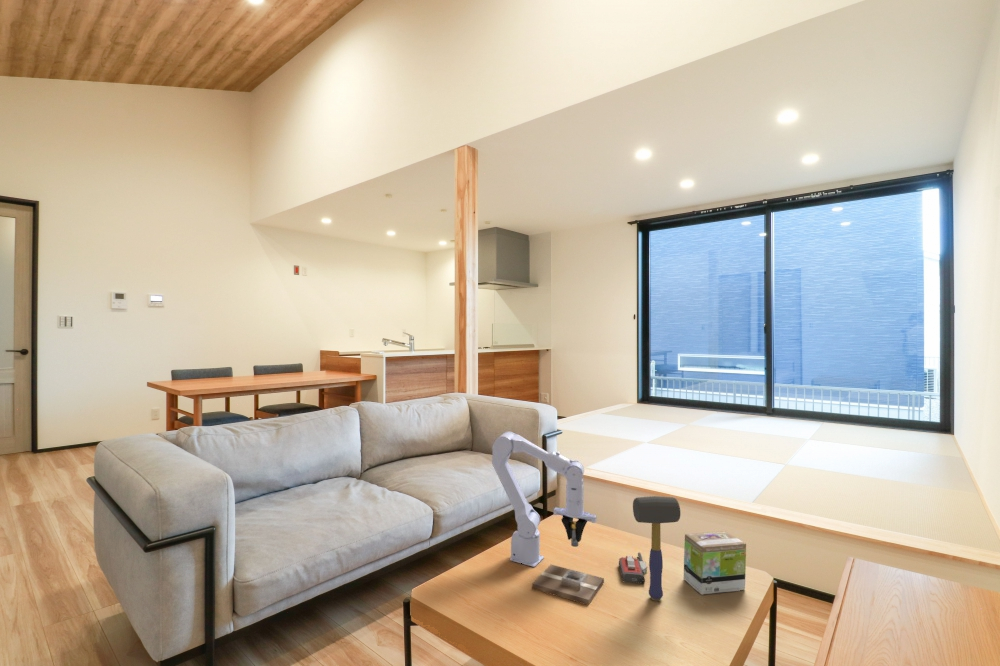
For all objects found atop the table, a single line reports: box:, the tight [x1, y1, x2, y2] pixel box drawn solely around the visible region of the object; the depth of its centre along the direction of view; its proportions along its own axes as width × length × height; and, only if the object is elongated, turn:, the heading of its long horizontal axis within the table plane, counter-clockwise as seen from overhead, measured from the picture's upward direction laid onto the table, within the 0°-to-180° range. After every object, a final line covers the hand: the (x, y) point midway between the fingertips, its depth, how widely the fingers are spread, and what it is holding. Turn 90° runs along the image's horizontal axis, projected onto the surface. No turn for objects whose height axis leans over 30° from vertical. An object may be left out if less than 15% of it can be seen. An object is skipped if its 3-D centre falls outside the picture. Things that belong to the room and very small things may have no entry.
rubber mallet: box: [632, 495, 681, 602], centre depth 143 cm, size 12×8×30 cm, turn 91°
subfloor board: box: [531, 564, 605, 606], centre depth 150 cm, size 18×14×2 cm
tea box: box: [683, 530, 747, 596], centre depth 151 cm, size 15×10×15 cm, turn 102°
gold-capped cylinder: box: [570, 520, 579, 548], centre depth 163 cm, size 3×3×8 cm
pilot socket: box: [562, 569, 588, 590], centre depth 149 cm, size 6×6×2 cm
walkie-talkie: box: [618, 552, 648, 584], centre depth 161 cm, size 9×4×20 cm
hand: (574, 539), depth 163 cm, fingers closed on gold-capped cylinder, 3 cm apart
